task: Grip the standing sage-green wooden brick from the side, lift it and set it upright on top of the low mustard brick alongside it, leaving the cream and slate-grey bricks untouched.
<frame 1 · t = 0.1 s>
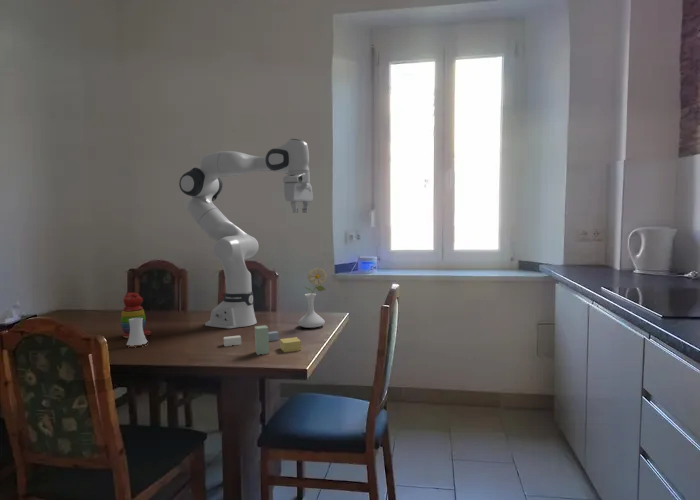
hand: (300, 212, 202), 48 cm above the table, tool pointing down, fingers open, 8 cm apart
green brick: (262, 352, 169), on the table
flower in vase: (313, 327, 207), on the table
slate brick: (270, 340, 186), on the table
cream brick: (232, 345, 181), on the table
vase: (137, 345, 185), on the table
stacking bear: (135, 336, 200), on the table
mustard brick: (290, 349, 173), on the table
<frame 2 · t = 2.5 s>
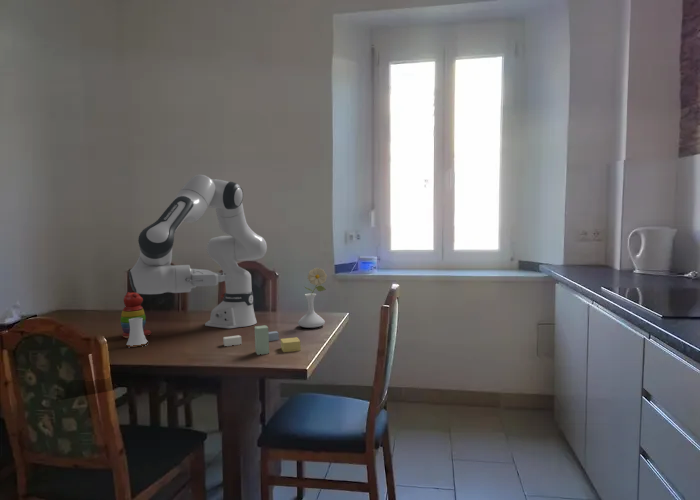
hand: (228, 276, 163), 27 cm above the table, tool horizontal, fingers open, 8 cm apart
nothing on the table moved.
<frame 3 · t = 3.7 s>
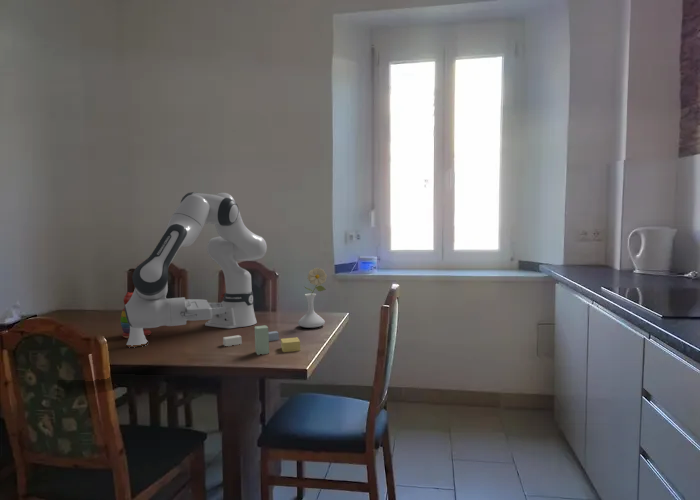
hand: (223, 307, 163), 17 cm above the table, tool horizontal, fingers open, 8 cm apart
nothing on the table moved.
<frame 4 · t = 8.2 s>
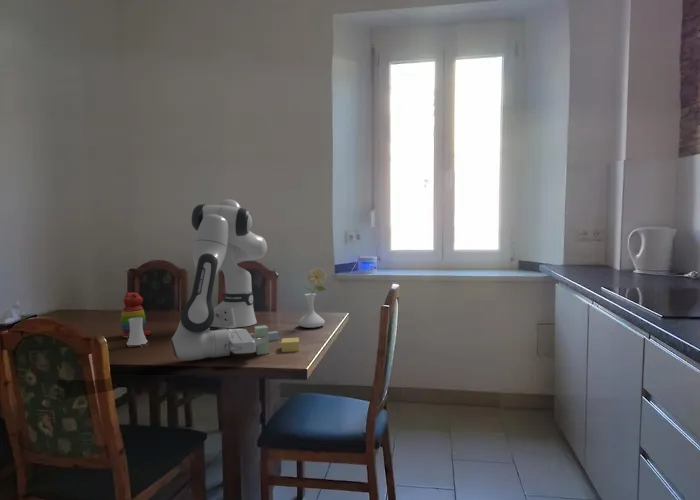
hand: (264, 338, 169), 5 cm above the table, tool horizontal, fingers closed on green brick, 4 cm apart
green brick: (262, 352, 169), on the table, touching gripper
everything else where it was.
when the fingers open (9 cm above the table, at t = 12.4 s): green brick drops 1 cm, resting on mustard brick.
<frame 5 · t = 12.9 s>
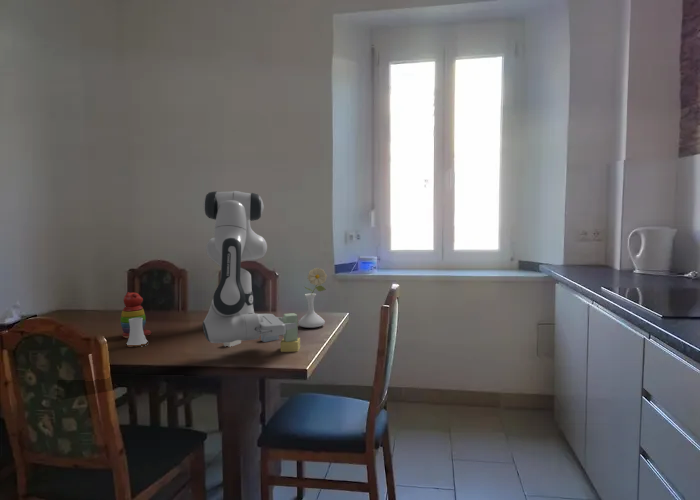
hand: (292, 322, 173), 9 cm above the table, tool horizontal, fingers open, 8 cm apart
green brick: (290, 339, 173), point 3 cm above the table, touching mustard brick
mustard brick: (290, 349, 173), on the table, touching green brick
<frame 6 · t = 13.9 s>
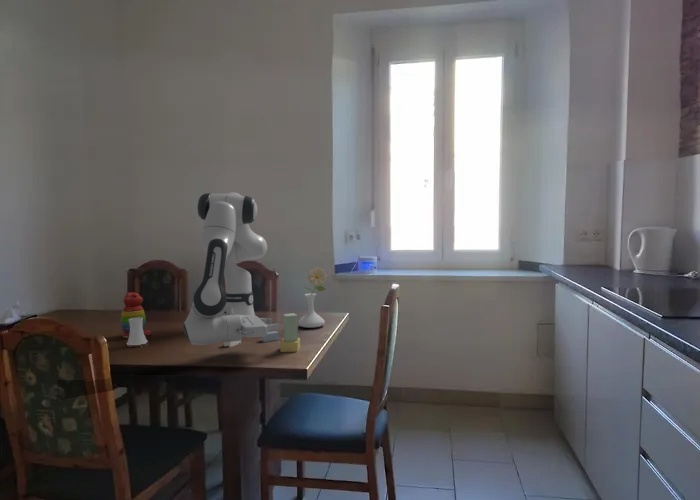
hand: (275, 323, 170), 10 cm above the table, tool horizontal, fingers open, 8 cm apart
green brick: (290, 339, 173), point 3 cm above the table
mustard brick: (290, 350, 173), on the table
everything else where it was.
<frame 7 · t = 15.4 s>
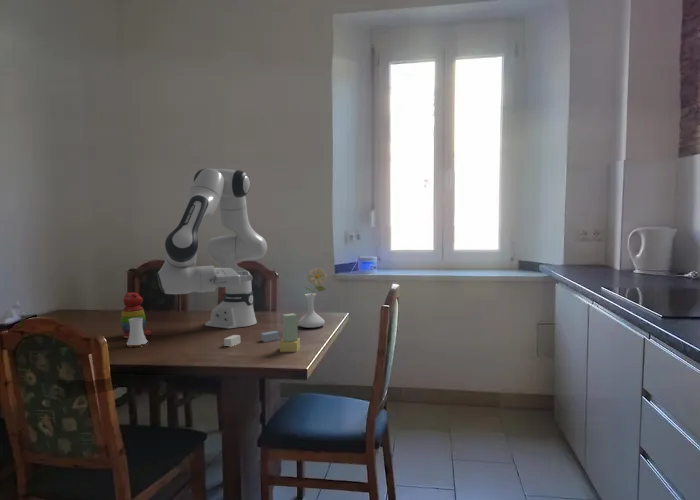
hand: (250, 275, 171), 26 cm above the table, tool horizontal, fingers open, 8 cm apart
nothing on the table moved.
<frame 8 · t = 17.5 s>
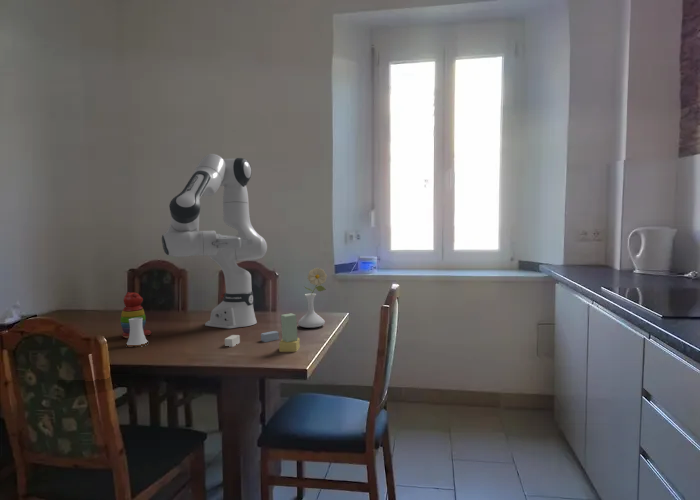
hand: (249, 241, 180), 38 cm above the table, tool horizontal, fingers open, 8 cm apart
green brick: (289, 340, 172), point 3 cm above the table, touching mustard brick
mustard brick: (289, 350, 173), on the table, touching green brick
at the end: green brick 0.2 cm off-centre on the mustard brick, point 3.6 cm above the mustard brick's base; green brick tilted 2°; cream brick moved 0.2 cm from its start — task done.
